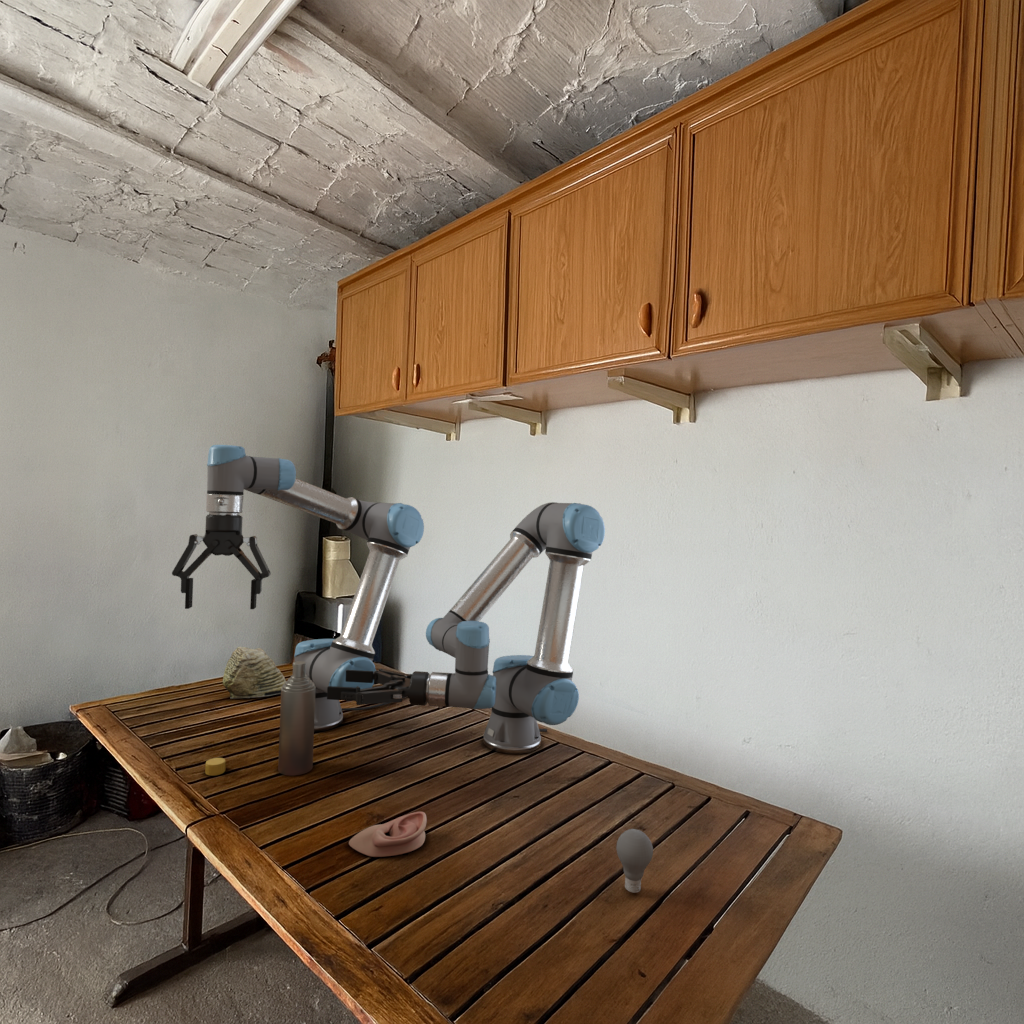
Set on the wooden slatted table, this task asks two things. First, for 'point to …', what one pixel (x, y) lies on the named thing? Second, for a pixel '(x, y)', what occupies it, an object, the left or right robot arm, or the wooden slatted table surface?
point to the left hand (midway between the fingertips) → (221, 608)
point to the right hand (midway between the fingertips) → (337, 683)
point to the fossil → (252, 674)
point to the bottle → (297, 723)
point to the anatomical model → (392, 836)
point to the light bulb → (634, 857)
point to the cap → (215, 766)
